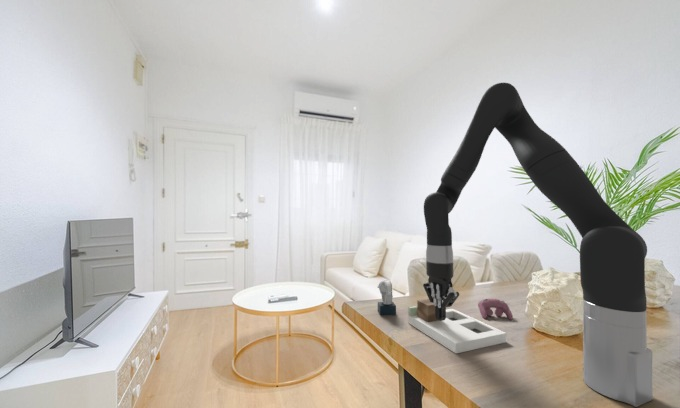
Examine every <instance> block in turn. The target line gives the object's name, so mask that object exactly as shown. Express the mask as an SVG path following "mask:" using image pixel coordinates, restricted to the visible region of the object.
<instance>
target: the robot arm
mask: <svg viewBox="0 0 680 408" xmlns="http://www.w3.org/2000/svg"><path fill="white" fill-rule="evenodd" d="M494 130H497V131H498V132H499V133H500V134H501V135H502V136H503V138H505V140H506V141H507V142H508V144H509V145H510V147H511V148H512V150H513V152H514V155H515V157H516V158H517V161H518V162H519V165H520V166H521V167H522V169H523V171H524V172H525V173H526V175H527V176H528V177H529V179H530V180H531V182H532V184H534V185H535V187H536V188H537V189H538V191H540V192H541V193H542V194H543V195H544V196H545V197H546V198H547V199H548V201H550V202H551V203H553V205H554V206H555V207H557V208H558V209H559V210H560V211H562V212H563V213H564V214H565V215H566V217H568V219H569V220H570V221H571V223H572V224H573V226H574V227H575V229H576V231H578V234H579V235H580V237H582V239H581V241H580V246H579V272H580V274H579V275H580V279H579V280H580V286H581V289H582V296H583V297H582V298H583V299H582V302H583V303H582V309H583V310H582V311H583V313H582V315H583V317H582V327H583V328H582V336H583V337H582V341H583V343H582V345H583V346H582V351H583V352H582V355H583V356H582V357H583V363H582V365H583V367H582V372H583V374H582V375H583V381H584V383H585V384H586V386H588V387H589V388H590V389H591V390H593V391H595V392H597V393H599V394H600V395H603V396H604V397H608V398H609V399H612V400H615V401H619V402H622V403H626V404H628V405H630V406H633V407H635V408H638V407H639V406H642V405H644V404H646V403H649V402H651V401H653V397H654V396H653V394H654V393H653V390H654V389H653V388H654V387H653V384H654V383H653V380H654V379H653V351H652V349H650V348H648V347H647V346H648V345H647V344H648V343H647V342H648V341H647V340H648V338H647V337H648V336H647V334H648V333H647V328H648V327H647V302H648V301H647V300H648V299H647V295H646V282H645V281H646V276H645V275H646V273H645V272H646V271H645V265H646V264H645V259H646V257H647V254H648V246H647V243H646V241H645V239H644V238H643V237H642V236H641V235H640V234H639V233H638V232H637V231H636V230H634V229H633V228H632V226H630V225H629V224H628V223H627V222H626V221H624V219H622V217H621V216H620V215H618V214H617V213H616V212H615V211H614V210H613V208H611V207H610V206H609V204H608V203H607V202H606V201H605V200H604V198H602V196H601V195H600V193H599V191H598V190H597V188H596V187H595V185H594V184H593V182H592V181H591V180H590V178H589V177H588V176H587V174H586V173H585V171H584V170H583V168H582V167H581V166H580V165H579V164H578V162H577V161H576V160H575V159H574V158H573V156H572V155H571V154H570V153H569V151H568V150H567V149H566V148H565V147H564V146H563V145H562V144H561V143H559V141H557V140H556V139H555V138H553V137H552V136H551V135H550V134H548V133H547V132H546V131H544V130H543V129H542V128H541V127H539V126H538V124H537V123H536V122H535V121H534V118H533V117H532V116H531V115H530V114H529V112H528V111H527V108H526V106H525V105H524V102H523V100H522V98H521V96H520V93H519V91H518V90H517V89H516V87H515V86H514V85H512V84H511V83H509V82H498V83H495V84H493V85H492V86H489V88H487V89H486V90H485V91H484V93H483V94H482V96H481V97H480V100H479V102H478V104H477V106H476V109H475V111H474V113H473V116H472V119H471V121H470V123H469V125H468V127H467V129H466V132H465V134H464V136H463V138H462V141H461V143H460V144H459V146H458V148H457V150H456V151H455V154H454V155H453V157H452V159H451V160H450V162H449V164H448V165H447V167H446V168H445V170H444V172H443V174H442V176H441V179H440V184H439V186H438V187H437V190H436V192H432V193H429V194H428V195H427V196H426V197H425V199H424V202H423V215H424V222H425V226H426V250H425V253H426V254H425V256H426V257H425V261H426V262H425V263H426V265H425V268H426V269H425V270H426V276H427V277H428V280H427V282H425V283H423V285H422V286H423V288H424V291H425V293H426V296H427V298H428V299H429V300H430V302H433V303H434V306H435V315H436V319H437V320H439V321H443V320H445V319H446V309H447V308H449V307H450V308H451V307H452V306H453V305H454V303H455V302H456V301H457V299H458V298H459V296H460V292H459V291H455V289H454V288H453V282H452V279H453V277H454V252H453V235H452V234H453V233H452V228H451V226H450V224H449V223H450V222H449V221H450V219H449V214H450V213H451V211H453V210H454V208H455V206H456V204H457V202H458V200H459V198H460V196H461V194H462V191H463V190H464V188H465V187H466V185H467V183H468V182H469V181H470V180H471V178H472V176H473V174H474V173H475V171H476V169H477V167H478V165H479V163H480V160H481V159H482V154H483V153H484V150H485V147H486V144H487V143H488V140H489V138H490V136H491V134H492V132H493V131H494Z"/></svg>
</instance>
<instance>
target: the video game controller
mask: <svg viewBox="0 0 680 408" xmlns="http://www.w3.org/2000/svg"><path fill="white" fill-rule="evenodd" d="M477 306H478V309H479V313H480V315H481V317H482V319H485V320H487V317H491V316H493V315H494V314H495V316H496V317H503V315H504V314H505V316H506V317H507V318H508V320H510V321H513V317H514V316H513V313H512V310H511V309H510V307H509V305H508V304H507V303H506V302H505V301H504V300H501V299H497V298H485V299H481V300H480V301H478V303H477ZM492 309H495V310H494V312H493V310H492Z"/></svg>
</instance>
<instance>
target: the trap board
mask: <svg viewBox="0 0 680 408" xmlns="http://www.w3.org/2000/svg"><path fill="white" fill-rule="evenodd" d="M407 309H408V311H407V312H408V316H407V317H408V318H407V319H408V320H407V321H408V322H407V323H408V324H409V325H411V326H412V327H414V328H415V329H418V331H421V333H423V334H425V335H427V336H428V337H429V338H431V339H432V340H434V341H435V342H437V343H439V344H440V345H442V346H444V347H445V348H446V349H448V350H449V351H451V352H452V353H454V354H459V353H464V352H468V351H473V350H477V349H483V348H487V347H491V346H492V347H493V346H496V345H500V344H501V345H502V344H505V343H507V332H505V331H503V330H500V329H498V328H496V327H494V326H492V325H489V324H487V323H486V322H482V321H480V320H479V319H476V318H475V317H472V316H469V315H468V314H465V313H463V312H461V311H458V310H457V309H454V308H448V309H447V308H446V319H445V320H443V321H433V322H426V321H425V320H423V319H421V318H419V317H418V316H417V305H414V306H408V308H407Z"/></svg>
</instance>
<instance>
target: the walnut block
mask: <svg viewBox="0 0 680 408" xmlns="http://www.w3.org/2000/svg"><path fill="white" fill-rule="evenodd" d="M416 306H417V316H418V317H419V318H421V319H423V320H425V321H426V322H433V321H439V320H437V319H436V315H435V306H434V303H433V302H430V300H429V298H428V299H427V298H426V299H418V300H417V305H416Z"/></svg>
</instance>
